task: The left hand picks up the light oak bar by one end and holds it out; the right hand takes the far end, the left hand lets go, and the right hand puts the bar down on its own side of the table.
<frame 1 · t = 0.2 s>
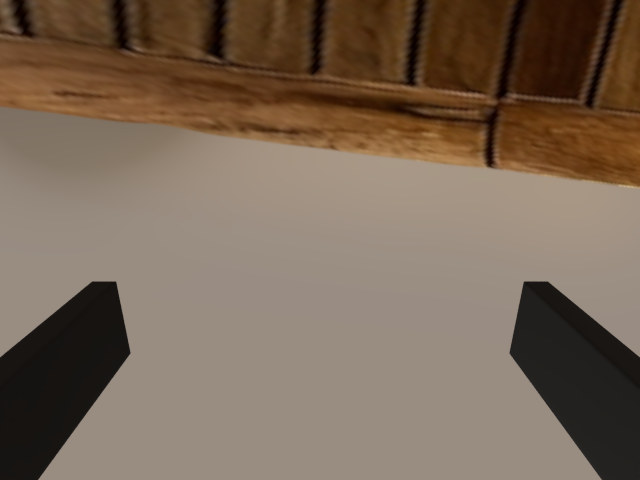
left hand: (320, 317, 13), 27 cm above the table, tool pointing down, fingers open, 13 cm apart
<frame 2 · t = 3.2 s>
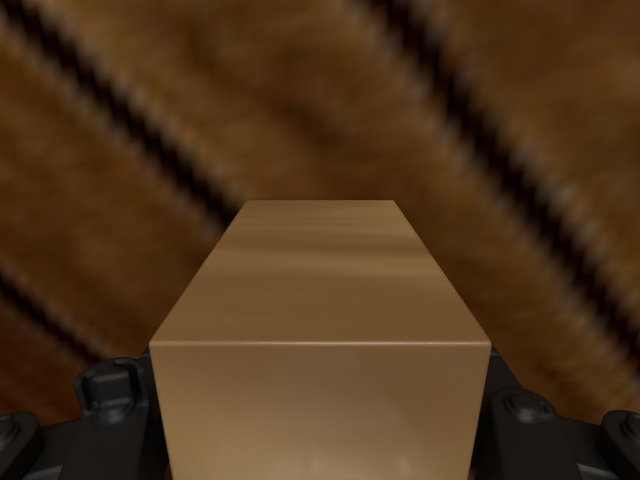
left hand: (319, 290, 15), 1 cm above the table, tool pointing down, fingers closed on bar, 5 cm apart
bar: (319, 464, 18), on the table, touching left hand
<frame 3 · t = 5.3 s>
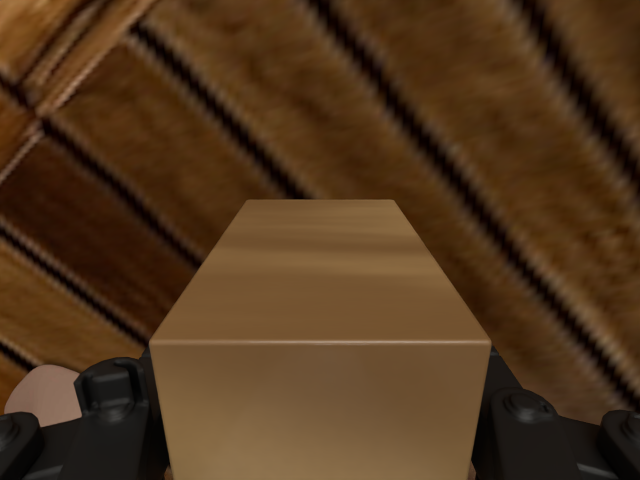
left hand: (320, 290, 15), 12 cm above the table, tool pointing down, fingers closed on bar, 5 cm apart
bar: (320, 463, 18), point 12 cm above the table, touching left hand
anatomical model: (78, 430, 33), on the table
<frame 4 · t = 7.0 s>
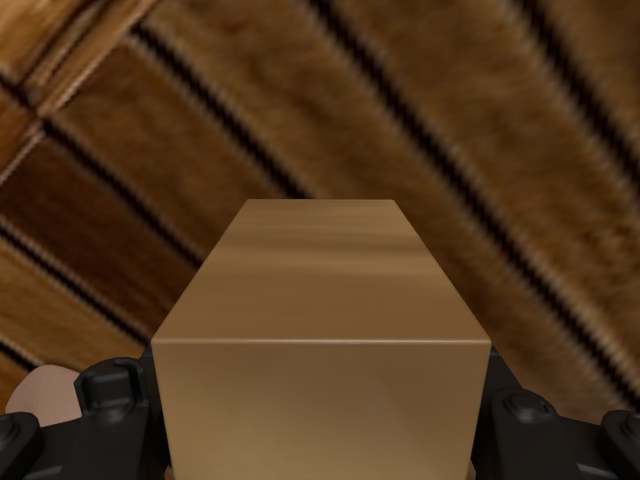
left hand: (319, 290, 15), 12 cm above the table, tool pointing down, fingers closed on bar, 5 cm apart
bar: (319, 462, 18), point 12 cm above the table, touching left hand, right hand
anatomical model: (79, 430, 33), on the table
when the left hand's fingers open (12 cm above the table, at t = 7.8 s): bar stays where it is, held by the right hand.
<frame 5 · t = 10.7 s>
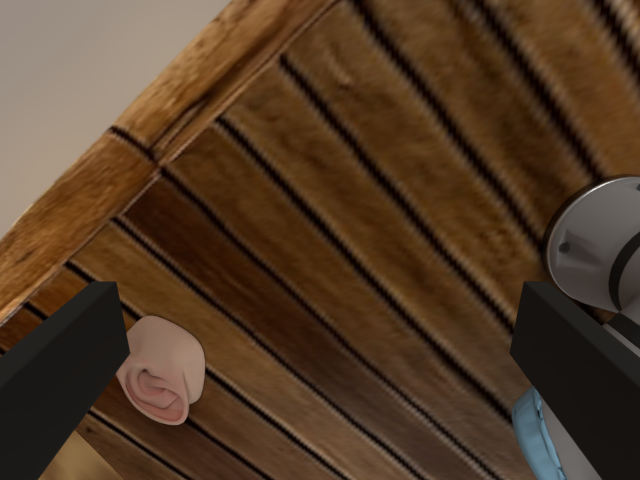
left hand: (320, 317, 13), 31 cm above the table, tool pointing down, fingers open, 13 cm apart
anatomical model: (164, 361, 51), on the table
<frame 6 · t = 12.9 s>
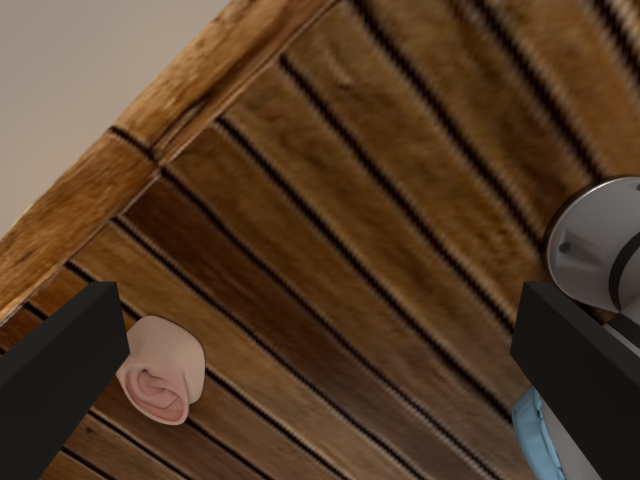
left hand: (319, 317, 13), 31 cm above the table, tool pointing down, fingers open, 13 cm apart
anatomical model: (164, 361, 51), on the table
when the right hand's fingers open (4 cm above the table, at t = 14.5 s): bar stays where it is, on the table.
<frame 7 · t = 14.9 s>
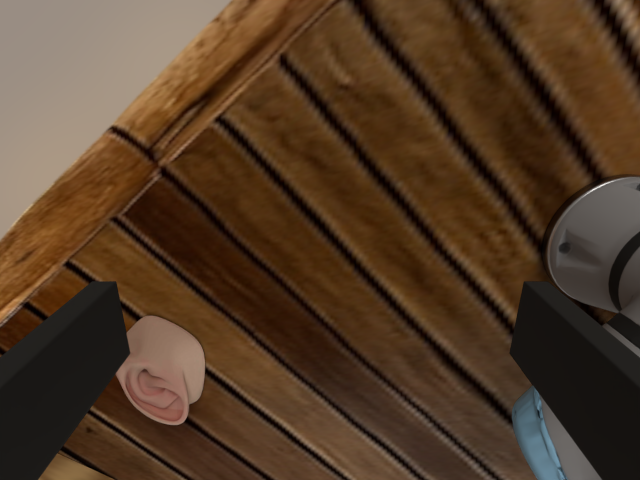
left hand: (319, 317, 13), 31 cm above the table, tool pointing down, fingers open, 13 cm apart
bar: (57, 466, 58), on the table
anatomical model: (164, 361, 51), on the table
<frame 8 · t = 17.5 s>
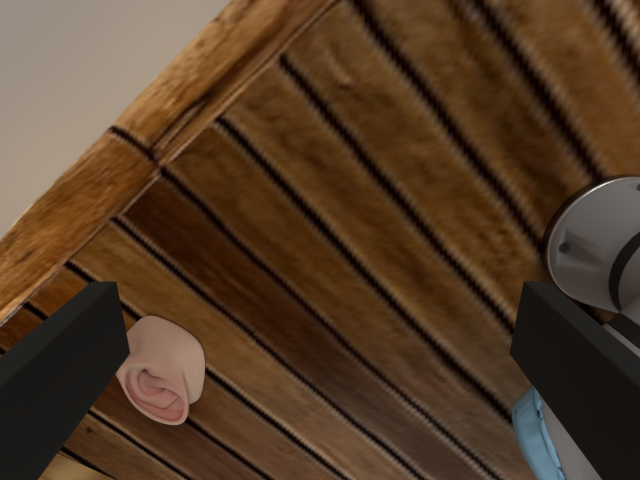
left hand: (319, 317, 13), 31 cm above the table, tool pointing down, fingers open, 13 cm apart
bar: (57, 466, 58), on the table
anatomical model: (164, 361, 51), on the table
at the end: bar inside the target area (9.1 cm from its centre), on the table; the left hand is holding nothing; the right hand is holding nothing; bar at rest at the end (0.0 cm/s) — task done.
